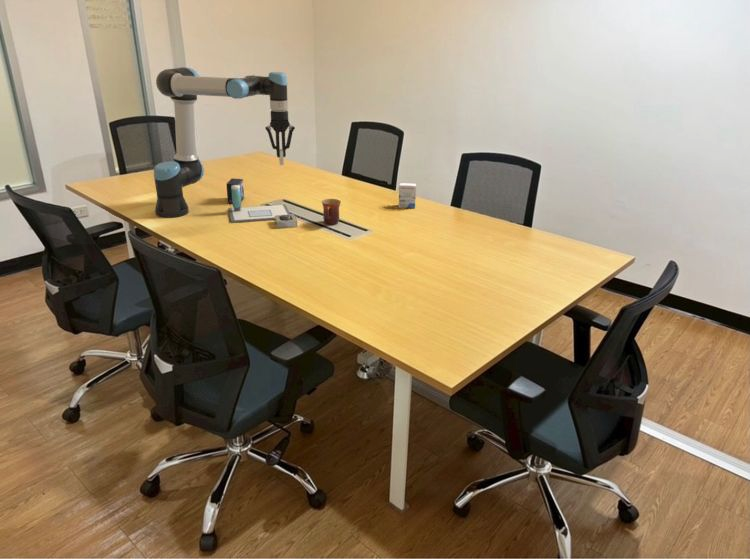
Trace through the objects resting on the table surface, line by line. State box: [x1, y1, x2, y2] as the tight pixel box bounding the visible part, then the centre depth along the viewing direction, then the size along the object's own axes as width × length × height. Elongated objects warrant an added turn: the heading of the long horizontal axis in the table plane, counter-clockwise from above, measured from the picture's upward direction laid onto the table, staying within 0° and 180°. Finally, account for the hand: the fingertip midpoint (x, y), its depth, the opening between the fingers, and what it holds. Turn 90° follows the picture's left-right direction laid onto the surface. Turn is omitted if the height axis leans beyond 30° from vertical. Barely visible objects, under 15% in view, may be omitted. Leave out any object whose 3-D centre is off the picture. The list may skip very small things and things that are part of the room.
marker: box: [231, 185, 242, 211], centre depth 271 cm, size 4×4×12 cm
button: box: [281, 215, 291, 220], centre depth 260 cm, size 4×4×3 cm
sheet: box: [227, 204, 291, 224], centre depth 273 cm, size 28×20×1 cm
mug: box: [321, 198, 342, 226], centre depth 261 cm, size 12×9×10 cm
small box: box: [225, 178, 245, 205], centre depth 289 cm, size 11×6×10 cm, turn 179°
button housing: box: [274, 213, 298, 229], centre depth 260 cm, size 9×9×3 cm
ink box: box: [397, 182, 417, 209], centre depth 287 cm, size 9×5×12 cm, turn 84°
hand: (281, 164), depth 255 cm, fingers closed
